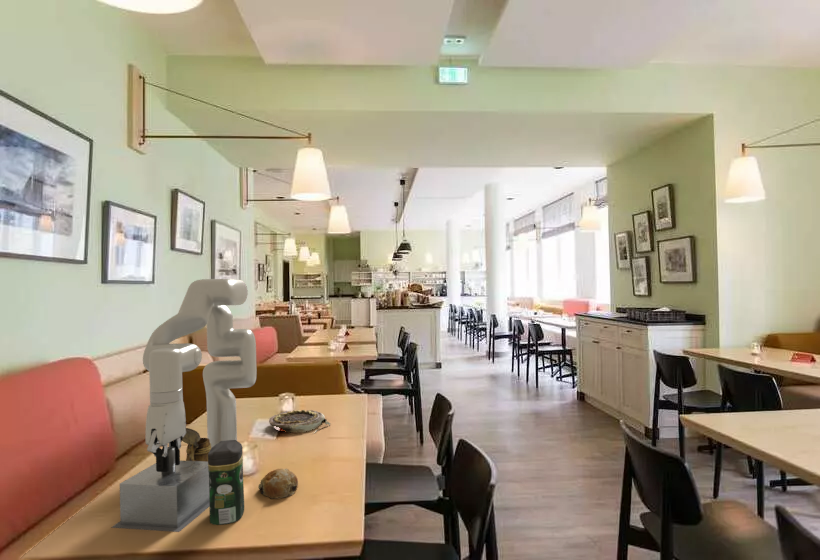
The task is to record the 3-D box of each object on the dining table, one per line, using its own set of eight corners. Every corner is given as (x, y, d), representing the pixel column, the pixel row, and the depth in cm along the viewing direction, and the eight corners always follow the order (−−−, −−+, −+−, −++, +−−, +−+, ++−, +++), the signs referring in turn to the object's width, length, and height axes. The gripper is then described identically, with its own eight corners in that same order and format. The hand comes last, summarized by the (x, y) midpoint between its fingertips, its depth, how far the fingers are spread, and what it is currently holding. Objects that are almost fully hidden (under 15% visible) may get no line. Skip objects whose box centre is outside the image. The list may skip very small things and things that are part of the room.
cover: (120, 524, 115) (118, 459, 115) (162, 496, 130) (161, 437, 130) (177, 528, 113) (175, 461, 113) (213, 498, 128) (212, 439, 128)
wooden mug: (170, 491, 134) (168, 428, 134) (191, 472, 148) (189, 414, 148) (201, 490, 134) (200, 427, 134) (219, 471, 148) (218, 413, 148)
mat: (111, 529, 114) (111, 527, 114) (161, 495, 132) (161, 493, 132) (179, 534, 111) (179, 531, 111) (221, 498, 129) (221, 496, 129)
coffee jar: (214, 510, 123) (212, 438, 123) (246, 506, 124) (244, 436, 124) (205, 529, 113) (203, 452, 113) (240, 525, 115) (238, 449, 115)
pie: (294, 442, 174) (294, 429, 174) (245, 432, 188) (244, 419, 188) (343, 422, 198) (343, 410, 198) (296, 414, 212) (296, 403, 212)
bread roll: (281, 514, 127) (292, 488, 127) (249, 495, 129) (260, 469, 128) (297, 497, 137) (307, 473, 136) (267, 480, 139) (277, 456, 138)
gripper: (174, 388, 130) (175, 455, 130) (129, 405, 114) (131, 481, 114) (199, 389, 129) (200, 456, 129) (157, 405, 113) (159, 482, 113)
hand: (168, 467), depth 121 cm, fingers open, 3 cm apart
